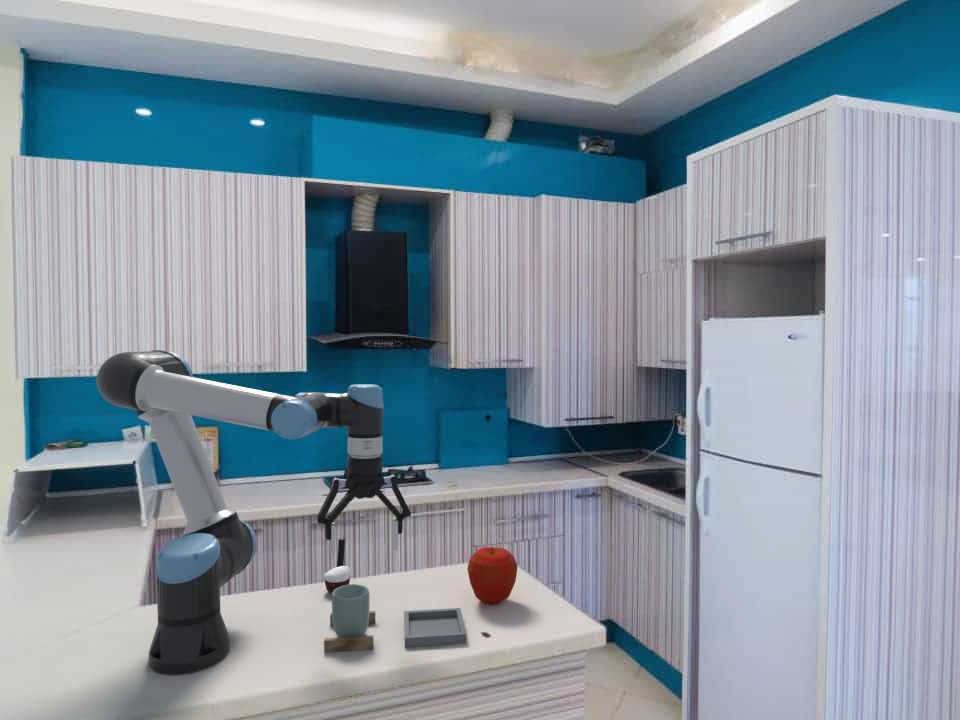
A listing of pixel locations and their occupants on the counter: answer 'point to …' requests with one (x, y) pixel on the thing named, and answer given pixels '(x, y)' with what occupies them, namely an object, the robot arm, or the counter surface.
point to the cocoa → (338, 571)
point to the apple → (492, 574)
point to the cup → (350, 610)
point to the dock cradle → (434, 627)
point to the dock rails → (350, 640)
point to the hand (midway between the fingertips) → (364, 551)
